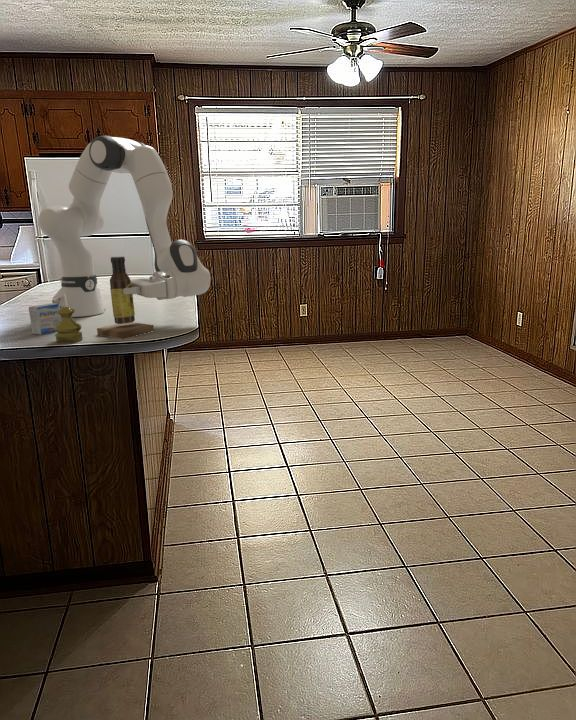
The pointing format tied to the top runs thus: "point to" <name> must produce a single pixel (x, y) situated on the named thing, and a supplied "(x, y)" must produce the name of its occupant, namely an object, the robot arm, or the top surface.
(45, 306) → the medicine box
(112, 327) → the walnut tray
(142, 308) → the top surface
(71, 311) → the gold stacked ornament
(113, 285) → the sauce bottle
